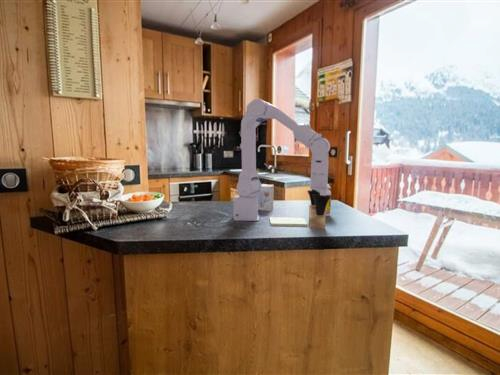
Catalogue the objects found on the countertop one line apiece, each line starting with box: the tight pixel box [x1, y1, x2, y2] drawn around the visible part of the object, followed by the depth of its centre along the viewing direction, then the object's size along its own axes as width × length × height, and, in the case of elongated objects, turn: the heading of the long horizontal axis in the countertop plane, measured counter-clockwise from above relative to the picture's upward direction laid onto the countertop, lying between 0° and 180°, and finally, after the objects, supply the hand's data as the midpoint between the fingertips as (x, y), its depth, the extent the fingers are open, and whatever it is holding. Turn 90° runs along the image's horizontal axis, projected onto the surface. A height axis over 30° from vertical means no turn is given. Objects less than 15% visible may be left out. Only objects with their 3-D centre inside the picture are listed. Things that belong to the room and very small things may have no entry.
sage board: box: [269, 216, 309, 227], centre depth 108 cm, size 13×9×1 cm
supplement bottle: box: [326, 183, 332, 217], centre depth 120 cm, size 7×7×13 cm
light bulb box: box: [258, 183, 275, 212], centre depth 130 cm, size 11×7×11 cm, turn 73°
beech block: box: [307, 204, 327, 229], centre depth 102 cm, size 5×4×8 cm
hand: (317, 212), depth 102 cm, fingers open, 7 cm apart
